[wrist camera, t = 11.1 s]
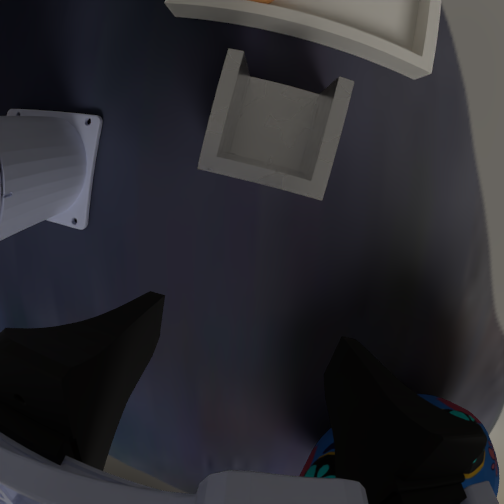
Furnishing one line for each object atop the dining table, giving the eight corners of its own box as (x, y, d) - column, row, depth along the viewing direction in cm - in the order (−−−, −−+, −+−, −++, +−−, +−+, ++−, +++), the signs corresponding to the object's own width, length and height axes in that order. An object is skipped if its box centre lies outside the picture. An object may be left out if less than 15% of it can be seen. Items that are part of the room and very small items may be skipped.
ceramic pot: (452, 324, 22) (549, 453, 8) (456, 433, 27) (500, 529, 13) (260, 402, 25) (253, 565, 11) (320, 486, 30) (330, 591, 16)
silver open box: (217, 161, 19) (197, 168, 14) (239, 75, 18) (228, 48, 12) (305, 184, 20) (322, 200, 14) (328, 99, 18) (354, 81, 12)
